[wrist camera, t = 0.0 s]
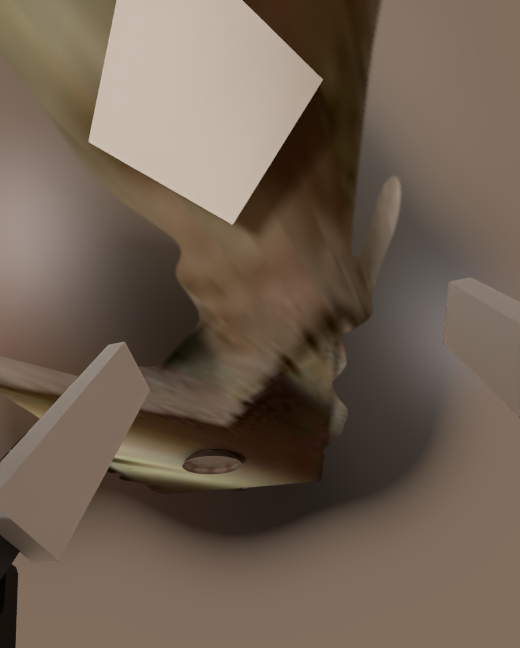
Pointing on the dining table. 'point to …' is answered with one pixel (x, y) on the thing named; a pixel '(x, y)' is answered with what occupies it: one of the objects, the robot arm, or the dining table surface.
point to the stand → (199, 97)
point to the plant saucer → (212, 462)
